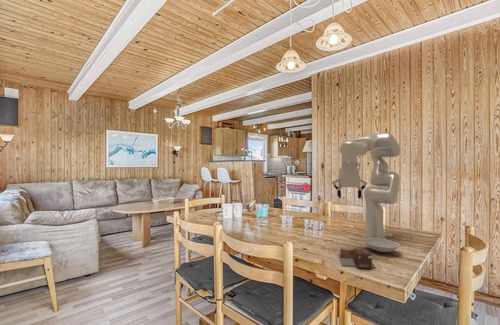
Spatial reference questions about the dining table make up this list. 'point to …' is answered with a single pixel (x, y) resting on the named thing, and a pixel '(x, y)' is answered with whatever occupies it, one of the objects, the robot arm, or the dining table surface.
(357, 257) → the box
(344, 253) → the walnut rail
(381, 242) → the dish
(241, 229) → the dining table surface
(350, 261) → the rubber mat
